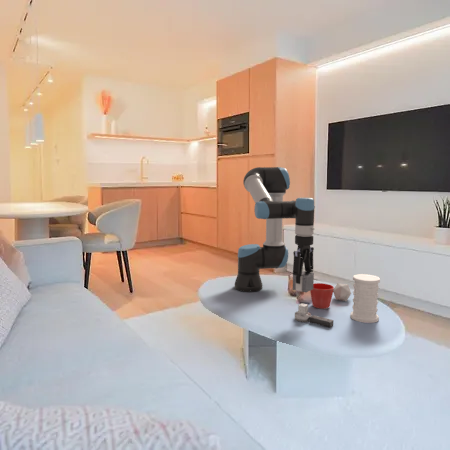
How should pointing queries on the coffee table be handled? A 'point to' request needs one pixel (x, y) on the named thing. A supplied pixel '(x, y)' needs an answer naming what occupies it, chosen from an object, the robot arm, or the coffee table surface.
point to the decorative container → (365, 298)
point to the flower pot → (321, 295)
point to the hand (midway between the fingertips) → (302, 288)
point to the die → (342, 292)
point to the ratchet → (311, 317)
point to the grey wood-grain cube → (305, 281)
